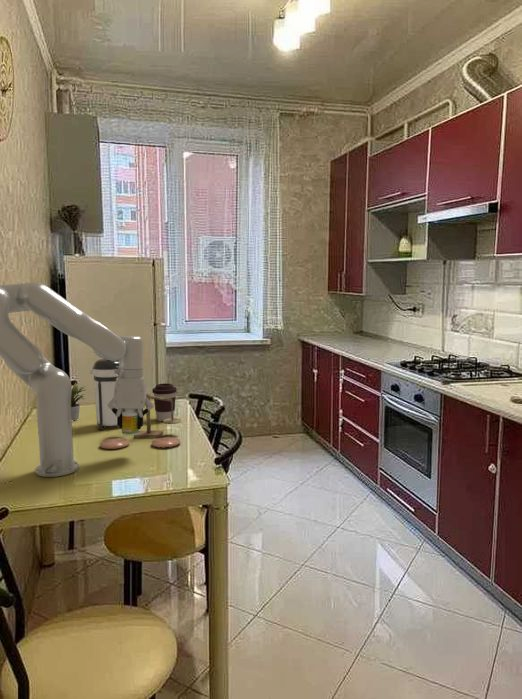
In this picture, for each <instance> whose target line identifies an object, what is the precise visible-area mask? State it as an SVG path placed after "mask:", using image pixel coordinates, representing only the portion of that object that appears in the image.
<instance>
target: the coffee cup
mask: <svg viewBox="0 0 522 699" xmlns="http://www.w3.org/2000/svg"><path fill="white" fill-rule="evenodd" d="M151 390H152V394H153V396H155V397H162V398H168V399H172V404H173V418H175V410H176V393H177V387H175V386H174V385H173V384H172V383H168V382H165V383H158V384H156V385H155V387H153V388H152V389H151ZM153 401H154V404H153V405H154V410H155V416H156V417H155V418H156V421H158V422H161V421H163V420H165V419H169V418H172V416H171V402H170V401H164V400H157V399H153Z"/></svg>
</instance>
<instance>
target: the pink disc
mask: <svg viewBox="0 0 522 699" xmlns="http://www.w3.org/2000/svg"><path fill="white" fill-rule="evenodd" d="M129 445H130V440H129V439H127V438H118V437H117V438H109V439H104V440H102V441H101V442H100V443H99V447H100V448H102V449H106V450H107V449H108V450H117V449H122V448H125V447H126V446H127V447H128V446H129Z"/></svg>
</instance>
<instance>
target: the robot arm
mask: <svg viewBox="0 0 522 699" xmlns="http://www.w3.org/2000/svg"><path fill="white" fill-rule="evenodd" d="M28 311H29V312H30V311H31V312H32V313H34V314H35V315H36V316H38V317H39V318H40V319H42V320H44V321H45V322H47V323H48V324H49V325H51V326H53V327H54V328H56V329H57V330H58V331H59V332H61V333H62V334H64V335H67V336H69V337H70V338H73V339H75V340H78V341H80V342H81V343H83V344H85V345H86V346H88V347H90V348H91V349H92V351H93V353H94V355H96V356H97V357H99V358H100V359H107V360H110V361H117V360H119V369H117V370H115V371H114V373H115V374H118V376H119V377H118V378H116V382H115V389H114V398H113V399H112V400H111V401H110V402H109V403H108V405H107V407H108V408H109V409H110V410H112V412H113V413H114V414H115V415H116V416H117V425H116V426H117V427H118V430H122V411H123V409H137V410H138V413H139V417H138V429H139V430H141V428H142V427H143V426H144V416H145V415H146V413H147V412H148V411H150V412H151V410H152V409H153V408H155V404H153V403H152V402H151V399H150V400H149V399H148V398H147V387H146V384H147V383H146V380H145V377H144V376H143V374H144V372H143V370H144V369H143V367H144V366H143V364H144V356H143V355H144V340H143V337H141V336H139V335H123V336H119V335H117V334H116V333H114V332H113V331H112V330H110V329H109V328H107V326H104V325H103V324H102V323H101V322H99V321H97V320H96V319H94V318H93V317H91V316H90V315H88V314H87V313H85V312H84V311H83V310H81V309H80V308H79V307H76V306H75V305H73V304H72V303H71V302H70V301H68V300H67V299H66V298H64V297H63V296H62V295H60V294H59V293H57V292H56V291H55V290H53V289H52V288H51V287H49V286H48V285H47V284H44V283H41V282H37V281H35V282H34V281H33V282H23V283H14V284H0V357H1V358H2V360H3V362H4V363H5V365H6V366H7V367H8V368H9V369H10V370H11V371H12V372H13V373H14V374H15V375H16V376H18V377H19V379H21V380H22V381H23V382H24V383H25V384H26V385H27V386H29V388H30V389H31V390H33V391H34V392H35V393H37V398H36V400H37V401H36V418H37V421H36V422H37V430H38V432H37V433H38V434H37V435H38V446H39V448H38V450H39V451H38V452H39V464H38V466H35V469H34V473H35V475H36V476H38V477H43V478H55V477H63V476H67V475H70V474H72V473H74V472H77V471H78V470H79V469H80V463H79V462H78V461H76V460H74V447H73V443H74V442H73V427H72V426H73V424H72V422H73V421H71V392H72V388H73V386H72V382H71V379H70V377H69V375H68V374H67V373H66V372H65V371H64V370H63V369H60V368H58V367H56V366H54V364H52V363H51V362H50V361H49V360H48V359H47V358H46V357H45V356H44V355H43V353H42V351H41V350H40V348H39V347H38V346H37V345H36V344H35V343H33V342H32V341H30V339H28V338H27V337H26V336H25V335H24V334H23V333H22V332H21V331H20V330H19V329H18V327H16V326H15V324H13V322H12V321H11V319H10V315H9V314H10V313H21V312H28ZM113 404H114V406H113ZM146 404H147V405H148V407H147V408H146ZM144 408H145V409H144Z"/></svg>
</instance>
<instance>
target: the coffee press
mask: <svg viewBox="0 0 522 699" xmlns="http://www.w3.org/2000/svg"><path fill="white" fill-rule="evenodd" d="M117 369H119V360H117V361H110V360H107V359H104V358H100V359H98V360H96V361H95V362H94V364H93V365H92V368H91V369H90V371H89V374H91V375H92V374H93V381H94V396H95V416H96V418H95V419H96V424H97V425H98V424H99V425H98V427H97V431H104V429H105V427H113V426H117V416H115V414H114V413H113V412H112V410H110V409H109V408H108V407H107V405H108V403H109V402H110V401H111V400H112V399H113V398H114V389H115V382H116V378H118V377H119V376H118V374H115V373H114V371H115V370H117ZM113 406H114V404H113ZM136 411H138V410H137V409H136Z"/></svg>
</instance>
